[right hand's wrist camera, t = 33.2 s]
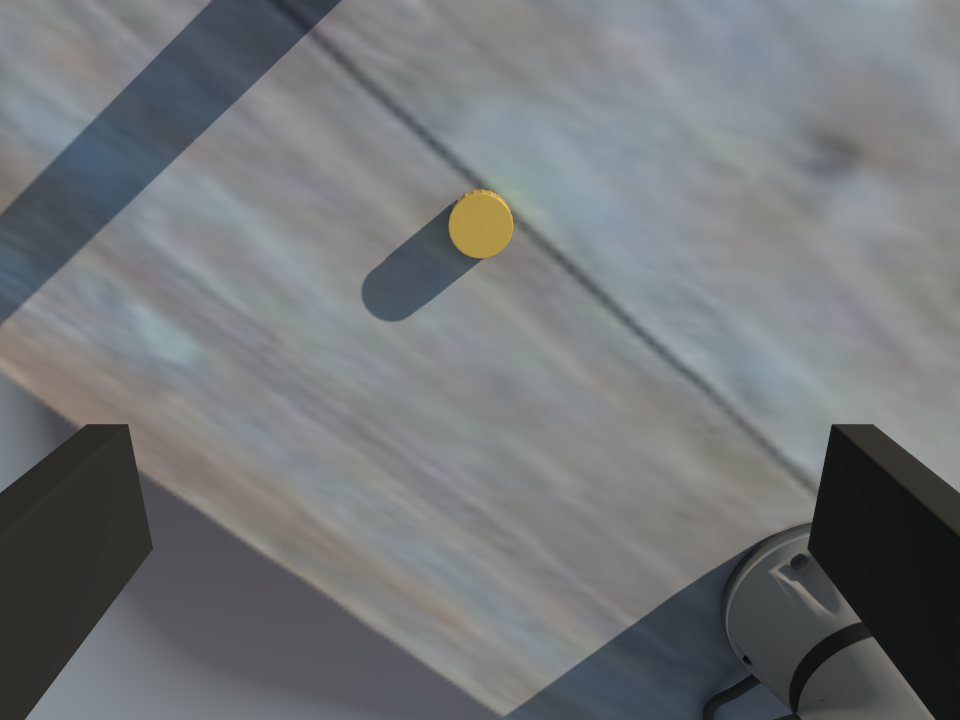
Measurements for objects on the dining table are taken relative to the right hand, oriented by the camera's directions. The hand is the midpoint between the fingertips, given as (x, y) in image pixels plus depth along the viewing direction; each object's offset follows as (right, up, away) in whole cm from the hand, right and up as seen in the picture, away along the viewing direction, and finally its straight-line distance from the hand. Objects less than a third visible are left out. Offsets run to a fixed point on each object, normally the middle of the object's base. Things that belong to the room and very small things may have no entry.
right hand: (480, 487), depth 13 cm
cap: (0, +11, +29) cm, 31 cm away
